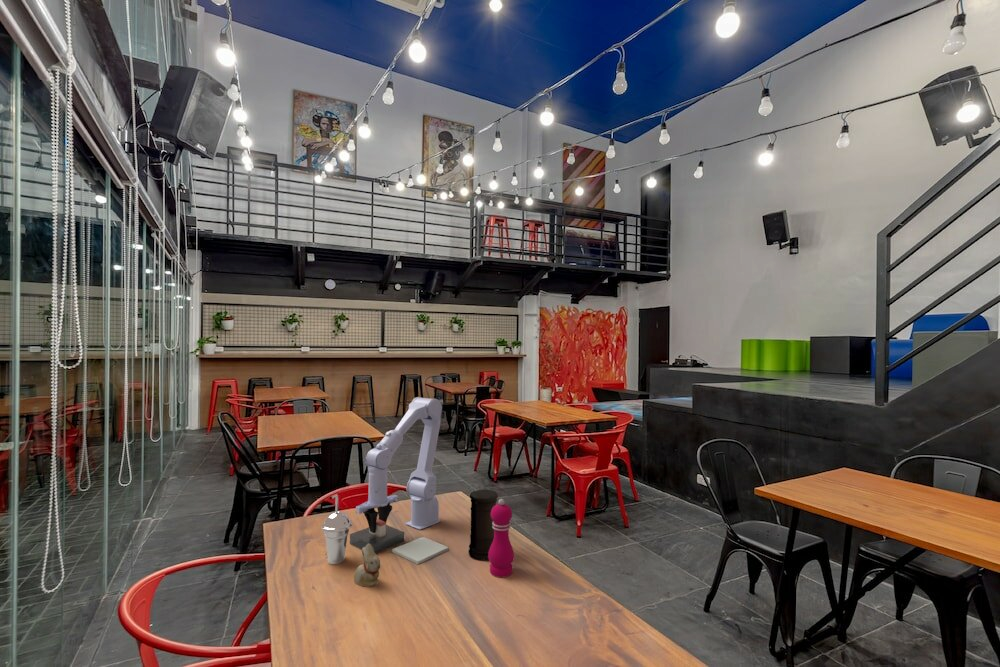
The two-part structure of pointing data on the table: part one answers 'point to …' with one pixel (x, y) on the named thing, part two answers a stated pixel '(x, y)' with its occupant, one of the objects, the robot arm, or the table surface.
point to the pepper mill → (501, 541)
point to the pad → (420, 550)
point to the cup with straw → (336, 534)
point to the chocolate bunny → (368, 568)
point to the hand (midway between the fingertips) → (377, 530)
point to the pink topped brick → (380, 528)
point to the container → (481, 523)
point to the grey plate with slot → (377, 539)
